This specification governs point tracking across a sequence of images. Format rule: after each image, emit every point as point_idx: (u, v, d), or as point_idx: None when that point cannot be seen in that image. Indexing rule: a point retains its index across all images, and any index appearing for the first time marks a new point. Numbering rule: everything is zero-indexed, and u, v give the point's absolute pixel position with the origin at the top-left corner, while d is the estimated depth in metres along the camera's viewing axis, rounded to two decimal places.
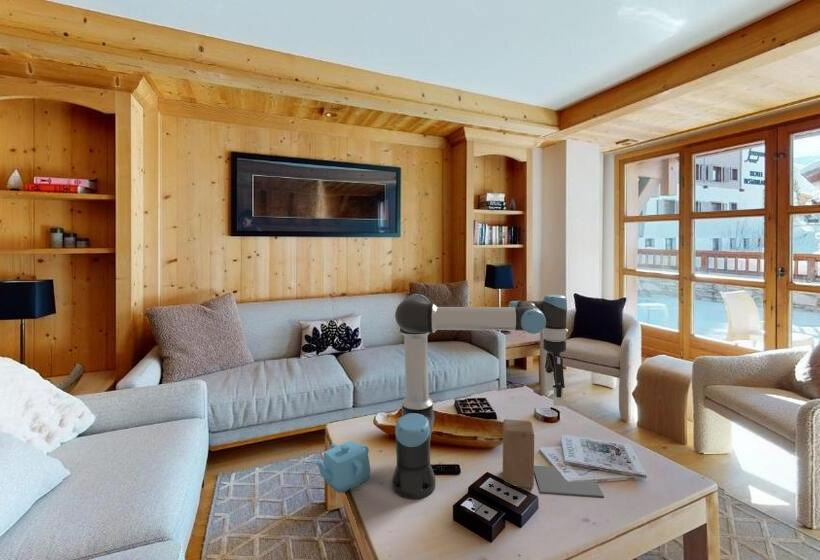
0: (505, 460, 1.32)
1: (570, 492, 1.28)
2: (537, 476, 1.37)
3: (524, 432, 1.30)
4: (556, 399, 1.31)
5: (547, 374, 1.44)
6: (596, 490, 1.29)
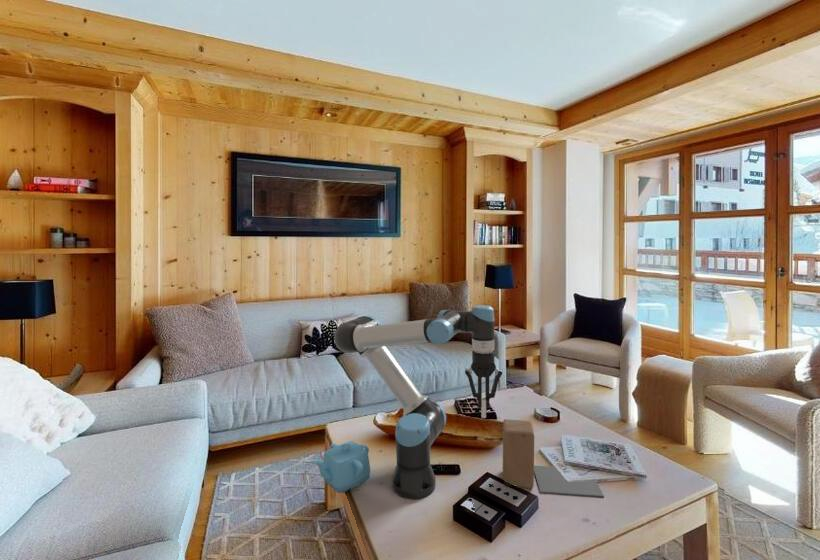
0: (505, 460, 1.32)
1: (570, 492, 1.28)
2: (537, 476, 1.37)
3: (524, 433, 1.30)
4: (481, 409, 1.36)
5: None
6: (596, 490, 1.29)
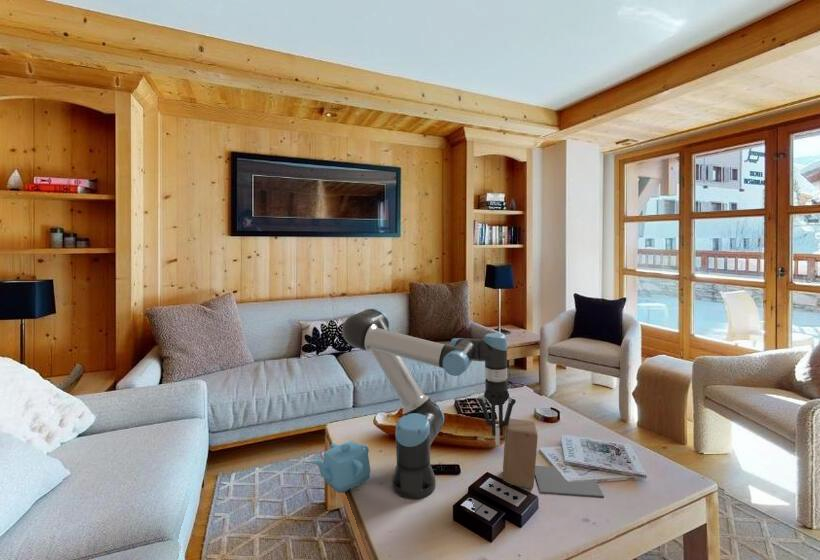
0: (507, 459, 1.32)
1: (570, 492, 1.28)
2: (537, 476, 1.37)
3: (528, 432, 1.30)
4: (495, 436, 1.37)
5: None
6: (596, 490, 1.29)
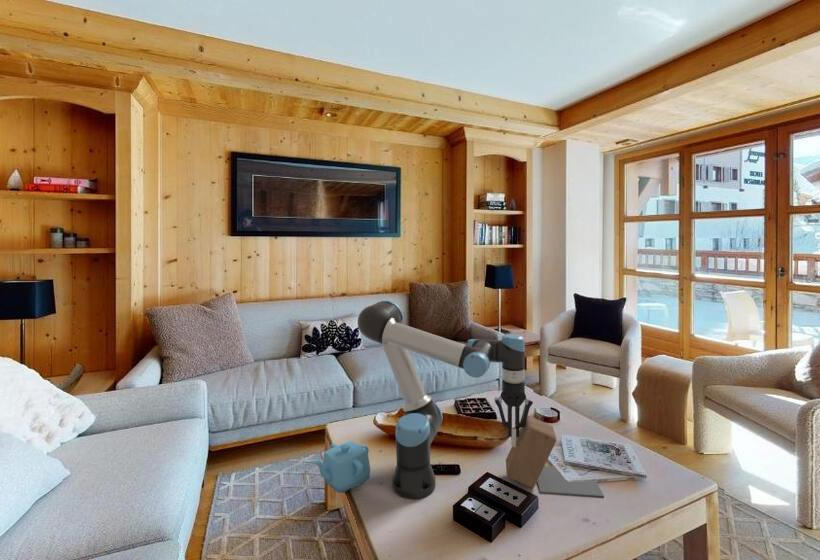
0: (518, 453, 1.31)
1: (570, 492, 1.28)
2: None
3: (548, 435, 1.28)
4: (511, 437, 1.36)
5: None
6: (596, 490, 1.29)
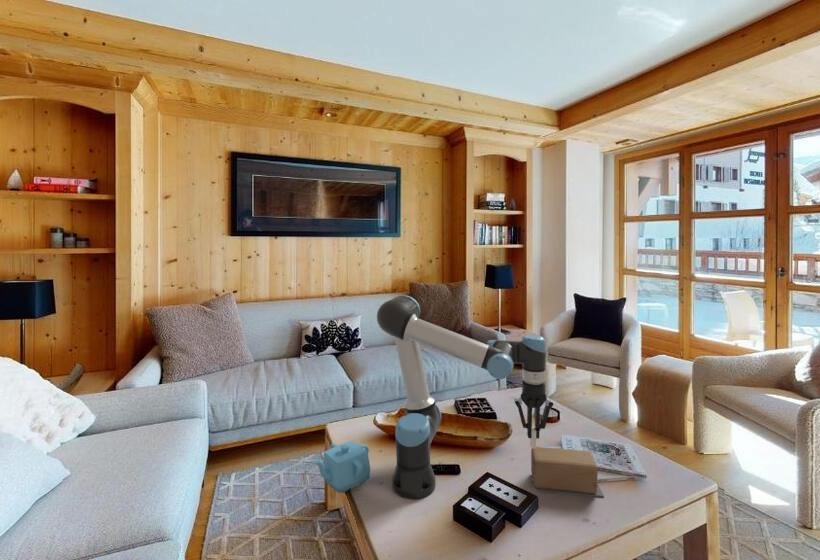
0: (564, 464, 1.28)
1: (570, 492, 1.28)
2: None
3: (596, 485, 1.27)
4: (530, 439, 1.35)
5: None
6: None
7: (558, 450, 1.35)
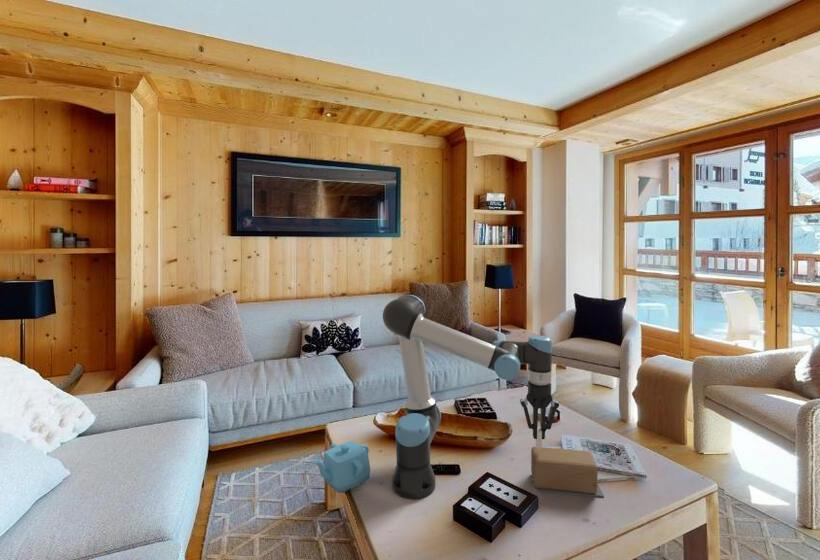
0: (564, 464, 1.28)
1: (570, 492, 1.28)
2: None
3: (596, 485, 1.27)
4: (536, 440, 1.35)
5: None
6: None
7: (558, 450, 1.35)
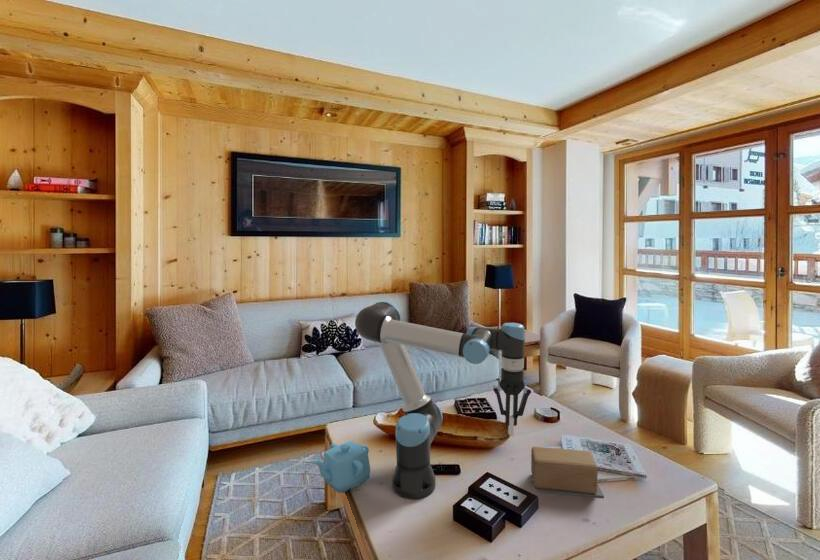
0: (564, 464, 1.28)
1: (570, 492, 1.28)
2: None
3: (596, 485, 1.27)
4: (508, 426, 1.36)
5: None
6: None
7: (558, 450, 1.35)
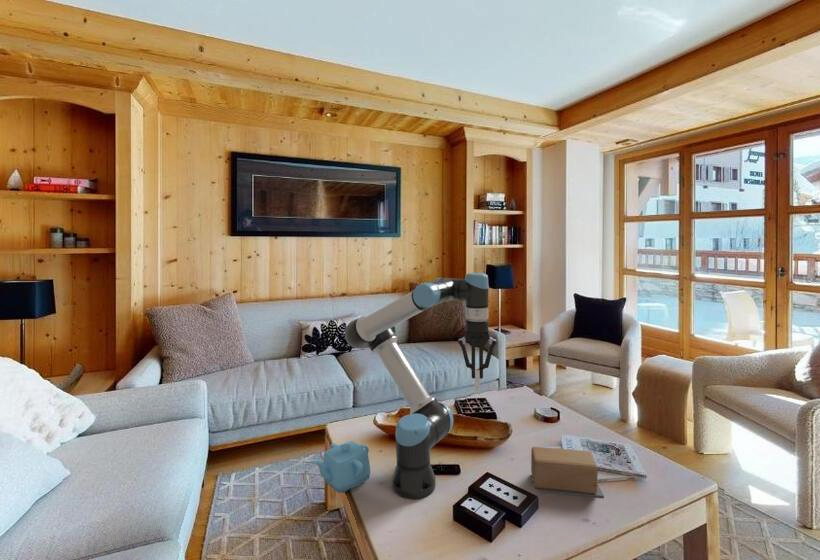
0: (564, 464, 1.28)
1: (570, 492, 1.28)
2: None
3: (596, 485, 1.27)
4: None
5: None
6: None
7: (558, 450, 1.35)
